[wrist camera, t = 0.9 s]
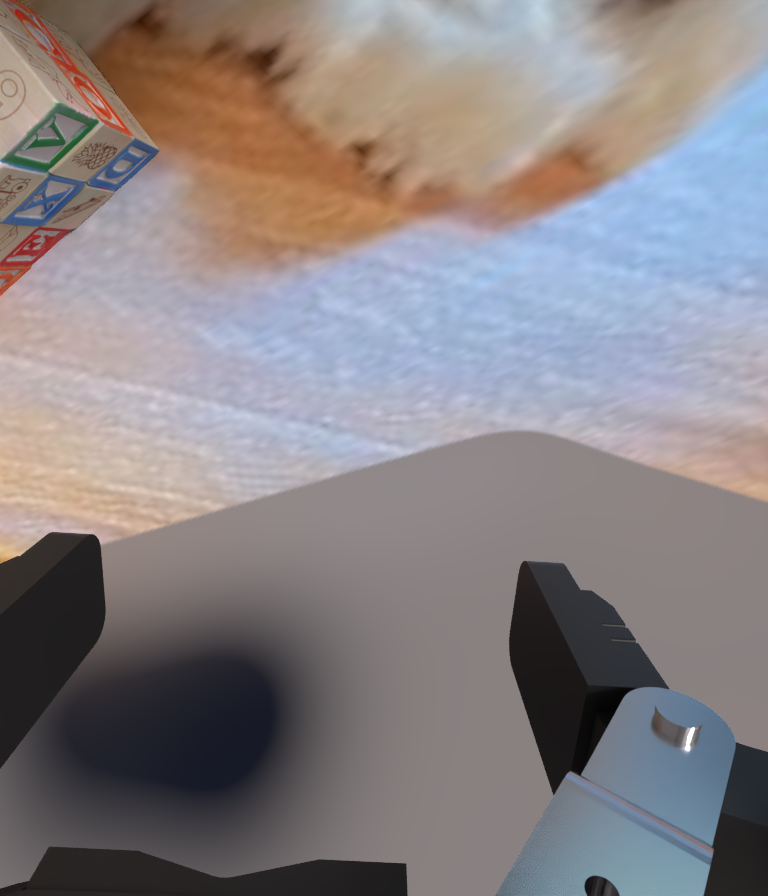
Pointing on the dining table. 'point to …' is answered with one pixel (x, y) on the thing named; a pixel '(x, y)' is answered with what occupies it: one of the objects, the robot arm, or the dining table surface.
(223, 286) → the dining table surface
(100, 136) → the stack of blocks
